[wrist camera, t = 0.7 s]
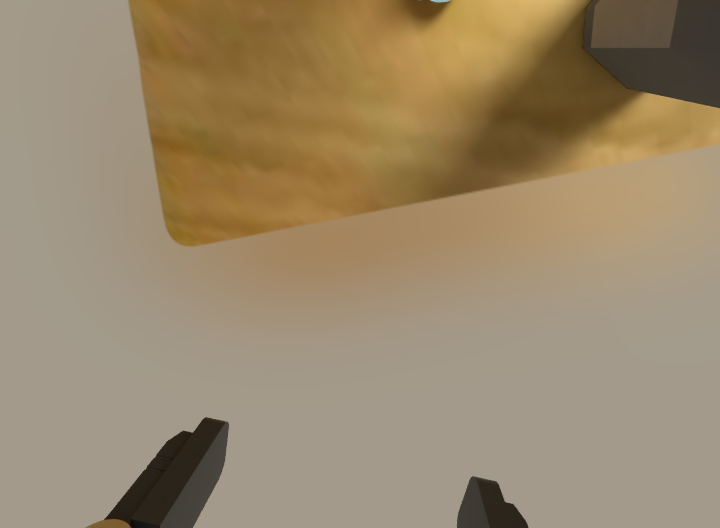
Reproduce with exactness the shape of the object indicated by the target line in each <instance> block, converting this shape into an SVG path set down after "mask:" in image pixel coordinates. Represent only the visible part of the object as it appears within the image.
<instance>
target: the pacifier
mask: <svg viewBox="0 0 720 528" xmlns="http://www.w3.org/2000/svg"><path fill="white" fill-rule="evenodd" d="M419 1H421V0H419ZM430 1H433V2H438V3H441V2H447V1H450V0H430Z"/></svg>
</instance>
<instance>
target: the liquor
mask: <svg viewBox="0 0 720 528" xmlns="http://www.w3.org/2000/svg"><path fill="white" fill-rule="evenodd" d="M582 48H583V49H584V50H585V51H586V52H587V53H589V54H590V55H591V56H592V57H593V58H594V59H595V60H596V61H597V62H599V63H600V64H601V65H602V66H603V67H604V68H605V69H606V70H607V71H609V72H610V73H611V74H612V75H613V76H614V77H615V78H616V79H617V80H619V81H620V82H621V83H622V84H623V85H624V86H625V87H626V88H628V89H633V90H637V91H642V92H647V93H651V94H656V95H661V96H666V97H670V98H675V99H680V100H684V101H689V102H694V103H698V104H703V105H708V106H712V107H717V108H720V0H593V1H592V2H591V3H590V4H589V5H588V7H587V8H586V12H585V24H584V36H583V47H582Z"/></svg>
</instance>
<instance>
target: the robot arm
mask: <svg viewBox="0 0 720 528" xmlns="http://www.w3.org/2000/svg"><path fill="white" fill-rule="evenodd" d="M228 429H229V424H228V422H225V421H221V420H216V419H212V418H207V417H206V418H204V419H203V420H202V421H201V423H200V424H199V425H198V427H197V428H196V430H195V431H194V432H193V433H191V432H187V431H182V432H180V433H179V434H178V435H176V436H174V437H173V438H172V439H170V440H168V441H167V442H166V444H165V445H164V446H163V447H162V449H161V450H160V451H159V452H158V454H157V455H156V457H155V458H154V459H153V460H152V461H151V462H150V464H149V465H148V466H147V469H146V470H144V471H143V472H142V474H141V475H140V476H139V477H138V479H137V480H136V481H135V483H134V484H133V485H132V486H131V487H130V489H129V490H128V491H127V492H126V494H125V495H124V496H123V497H122V499H121V500H120V501H119V502H118V504H117V505H116V506H115V507H114V509H113V510H112V511H111V512H110V514H109V515H108V516H107V517H106V518H105V519H104V520H103V521H99V522H97V523H94V524H92V525H90V526H88V527H86V528H193V526H194V524H195V523H196V521H197V519H198V517H199V515H200V513H201V511H202V510H203V508H204V506H205V504H206V502H207V500H208V498H209V496H210V495H211V493H212V491H213V489H214V487H215V485H216V483H217V482H218V480H219V477H220V475H221V472H222V469H223V466H224V462H225V456H226V446H227V438H228ZM457 528H528V525H527V523H526V521H525V519H524V518H523V517H522V515H521V514H520V513H519V511H518V510H517V508H516V507H515V506H514V505H513V504H511V503H506V502H505V501H504V498H503V496H502V493H501V490H500V487H499V484H498V483H497V482H496V481H492V480H487V479H483V478H478V477H471V479H470V481H469V484H468V486H467V489H466V492H465V495H464V498H463V501H462V504H461V507H460V510H459V513H458V519H457Z"/></svg>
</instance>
